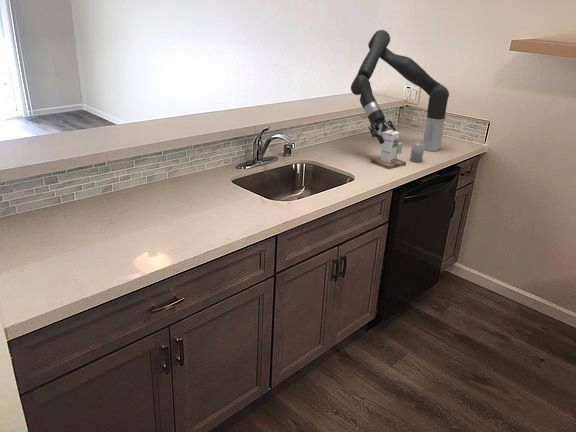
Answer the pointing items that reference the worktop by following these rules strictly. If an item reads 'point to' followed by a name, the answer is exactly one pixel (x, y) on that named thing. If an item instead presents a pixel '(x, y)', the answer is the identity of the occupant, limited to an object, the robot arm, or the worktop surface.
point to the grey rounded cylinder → (417, 152)
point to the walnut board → (388, 165)
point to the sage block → (399, 147)
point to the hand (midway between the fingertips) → (388, 141)
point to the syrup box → (389, 146)
